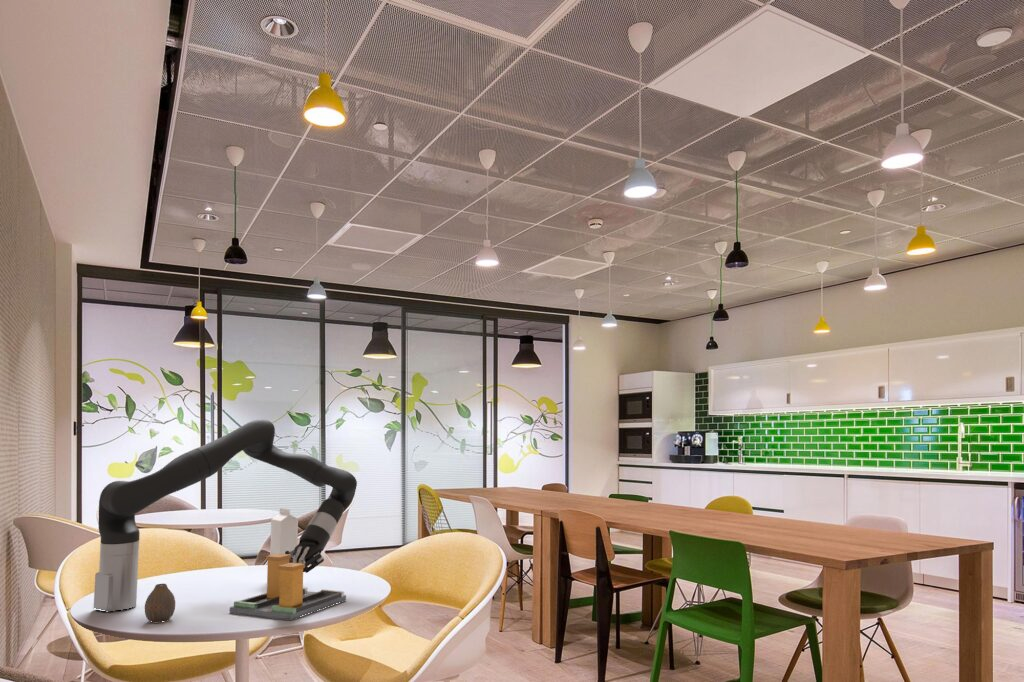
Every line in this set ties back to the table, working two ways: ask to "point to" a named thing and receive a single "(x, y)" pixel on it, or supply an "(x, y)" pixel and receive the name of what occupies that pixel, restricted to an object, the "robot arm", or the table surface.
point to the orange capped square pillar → (275, 573)
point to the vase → (160, 604)
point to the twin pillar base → (288, 598)
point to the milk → (283, 532)
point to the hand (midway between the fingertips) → (288, 583)
